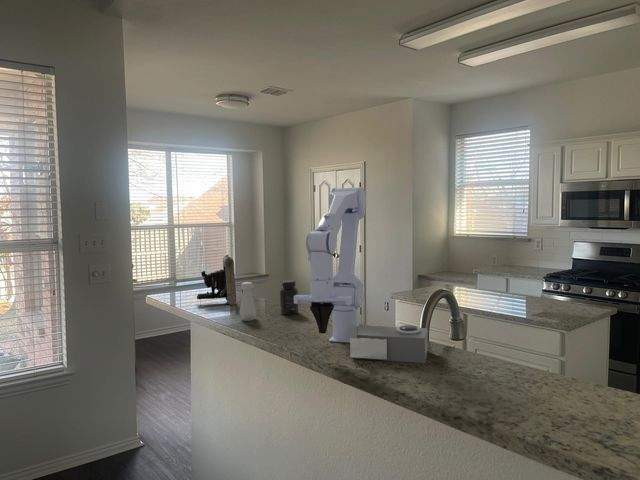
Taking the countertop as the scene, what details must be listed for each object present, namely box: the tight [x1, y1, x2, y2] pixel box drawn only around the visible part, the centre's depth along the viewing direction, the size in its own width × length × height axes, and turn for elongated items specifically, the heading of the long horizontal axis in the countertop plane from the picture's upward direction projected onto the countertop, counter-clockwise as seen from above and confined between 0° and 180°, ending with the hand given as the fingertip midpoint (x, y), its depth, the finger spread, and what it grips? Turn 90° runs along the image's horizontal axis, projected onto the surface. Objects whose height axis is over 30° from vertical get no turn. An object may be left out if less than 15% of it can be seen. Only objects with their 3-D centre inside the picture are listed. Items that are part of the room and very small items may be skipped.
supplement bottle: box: [279, 279, 300, 316], centre depth 170 cm, size 7×7×12 cm
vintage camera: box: [196, 254, 237, 306], centre depth 190 cm, size 10×16×20 cm, turn 107°
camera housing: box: [351, 324, 429, 364], centre depth 118 cm, size 10×18×7 cm, turn 74°
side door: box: [349, 325, 387, 361], centre depth 113 cm, size 1×9×8 cm, turn 74°
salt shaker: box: [239, 281, 257, 322], centre depth 161 cm, size 6×6×13 cm
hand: (322, 332), depth 116 cm, fingers closed
